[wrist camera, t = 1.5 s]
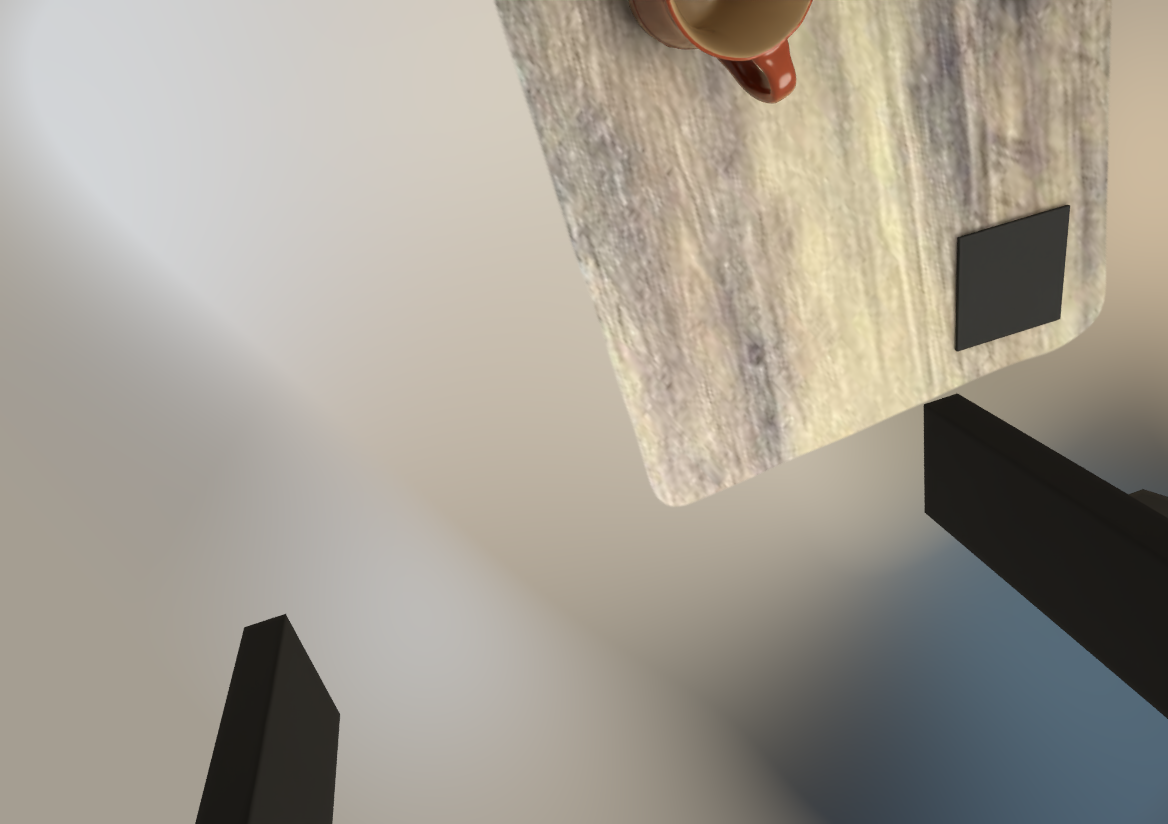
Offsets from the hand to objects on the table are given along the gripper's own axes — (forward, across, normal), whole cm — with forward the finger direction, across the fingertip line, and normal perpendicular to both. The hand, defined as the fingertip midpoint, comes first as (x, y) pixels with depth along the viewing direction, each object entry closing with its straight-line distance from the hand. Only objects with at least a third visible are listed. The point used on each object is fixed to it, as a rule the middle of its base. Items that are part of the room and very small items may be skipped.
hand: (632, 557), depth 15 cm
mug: (+40, +18, +8) cm, 45 cm away
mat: (+40, +42, -18) cm, 61 cm away
